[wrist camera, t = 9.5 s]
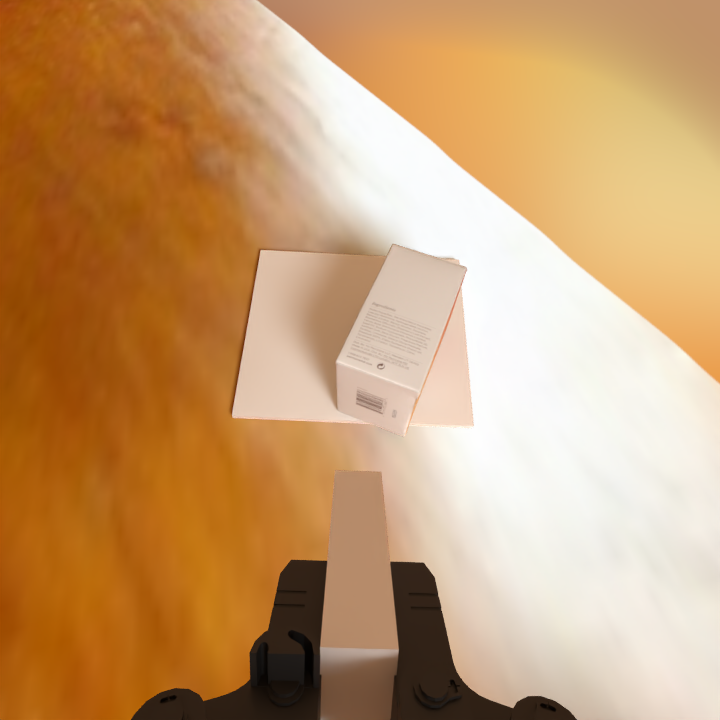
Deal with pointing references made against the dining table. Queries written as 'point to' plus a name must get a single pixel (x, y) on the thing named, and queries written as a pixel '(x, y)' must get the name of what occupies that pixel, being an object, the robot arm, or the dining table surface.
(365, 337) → the small box
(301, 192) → the dining table surface
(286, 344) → the beige mat
